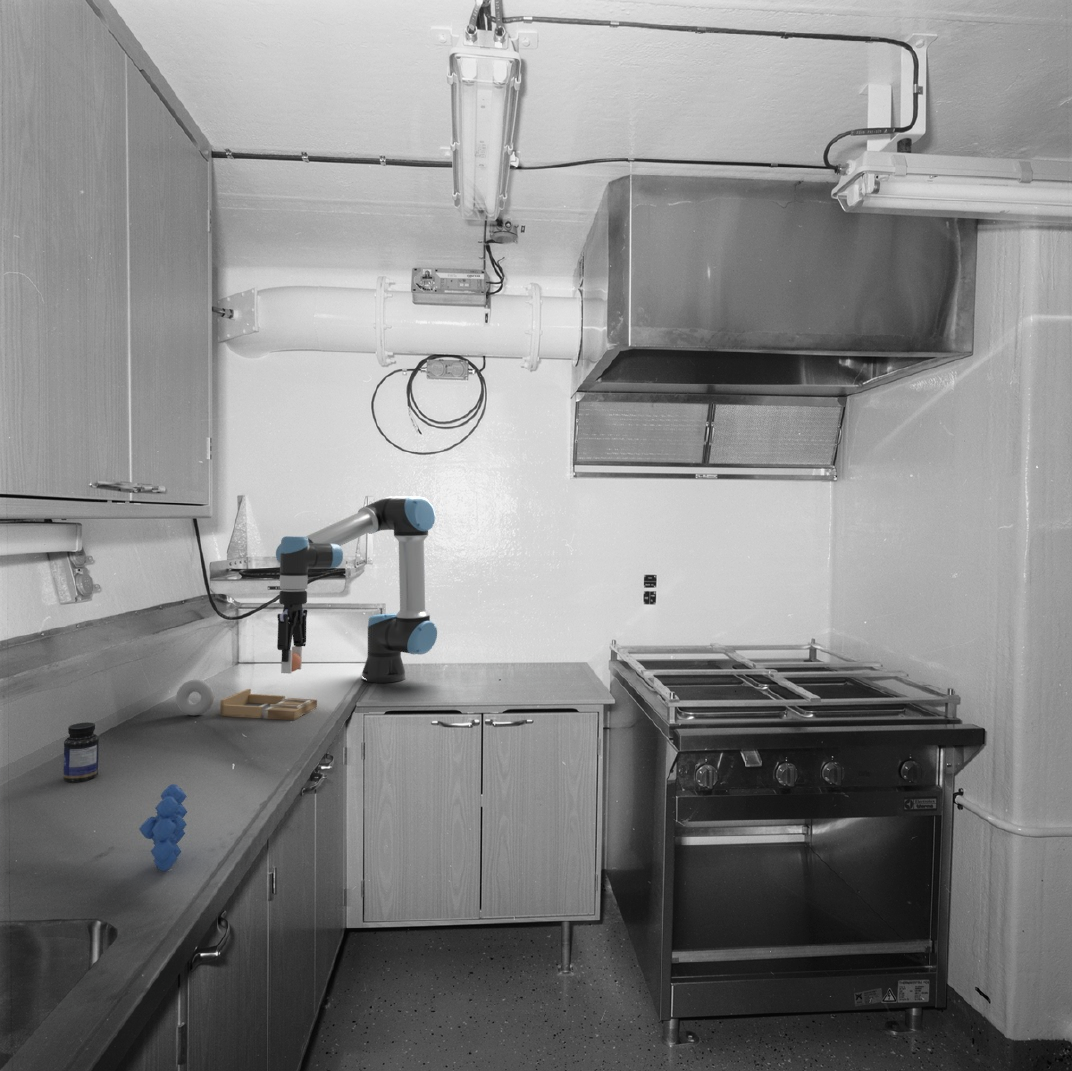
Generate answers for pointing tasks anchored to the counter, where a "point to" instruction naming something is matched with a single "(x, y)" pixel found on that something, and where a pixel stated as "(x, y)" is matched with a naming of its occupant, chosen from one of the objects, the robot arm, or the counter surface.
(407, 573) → the robot arm
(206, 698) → the donut
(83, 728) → the pill bottle
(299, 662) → the ball
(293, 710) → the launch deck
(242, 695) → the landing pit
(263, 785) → the counter surface
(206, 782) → the counter surface
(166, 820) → the grapes
